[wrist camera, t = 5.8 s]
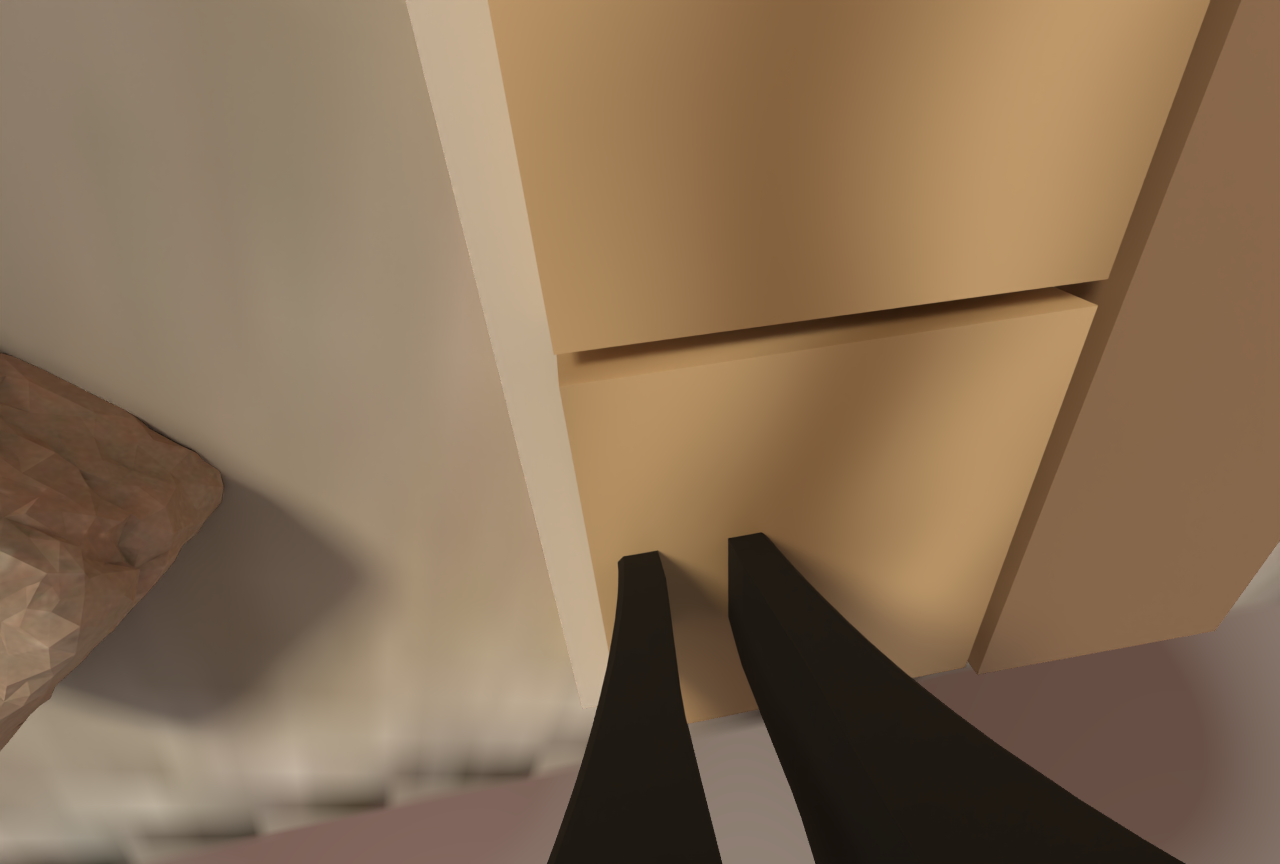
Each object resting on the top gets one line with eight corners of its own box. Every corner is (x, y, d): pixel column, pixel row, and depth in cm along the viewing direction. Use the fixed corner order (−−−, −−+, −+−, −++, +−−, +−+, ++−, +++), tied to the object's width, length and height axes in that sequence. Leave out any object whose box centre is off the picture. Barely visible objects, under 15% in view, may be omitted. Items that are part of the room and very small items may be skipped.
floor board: (1890, -867, 6) (2822, -1512, 3) (1127, 561, 17) (1222, 642, 14) (221, -875, 5) (-112, -1832, 2) (579, 656, 16) (585, 761, 13)
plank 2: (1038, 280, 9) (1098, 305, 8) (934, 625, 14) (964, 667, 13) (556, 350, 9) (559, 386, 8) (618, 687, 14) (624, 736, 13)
